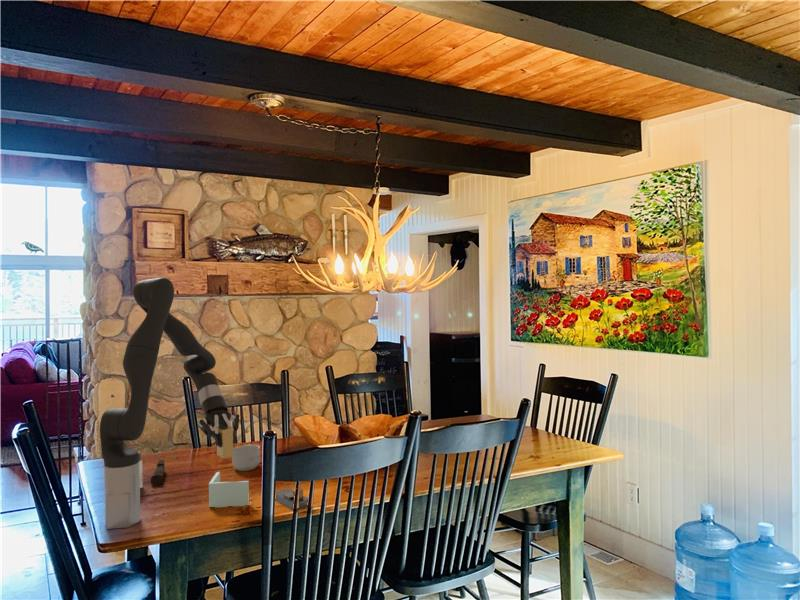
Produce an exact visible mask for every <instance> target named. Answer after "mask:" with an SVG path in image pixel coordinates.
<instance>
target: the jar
mask: <svg viewBox="0 0 800 600" xmlns="http://www.w3.org/2000/svg"><path fill="white" fill-rule="evenodd" d="M137 451H138V453H139V474H140V489H142V488H143V460H142V452H141V451H139V450H137Z"/></svg>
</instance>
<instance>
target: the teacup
mask: <svg viewBox="0 0 800 600" xmlns="http://www.w3.org/2000/svg"><path fill="white" fill-rule="evenodd" d="M231 462H232V466H233V468H234V469H236V470H237V471H239V472H247V471H251V470H254V469H256V468H257V467H258V466H259V464H260V462H261V446H260V445H258V444H250V443H248V444H247V445H245V444H244V445H239V446H236V447H233V457H231Z"/></svg>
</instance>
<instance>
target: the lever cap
mask: <svg viewBox="0 0 800 600" xmlns="http://www.w3.org/2000/svg"><path fill="white" fill-rule="evenodd" d="M218 430H219V434H220V437H221V440H222V442H223V445H222V447H219V446H217V445H216V456H217V457H220V458H221V459H227V458H232V457H233V448H234V445H233V427H232V428H231V427H229V426H222V427H219V428H218Z"/></svg>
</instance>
